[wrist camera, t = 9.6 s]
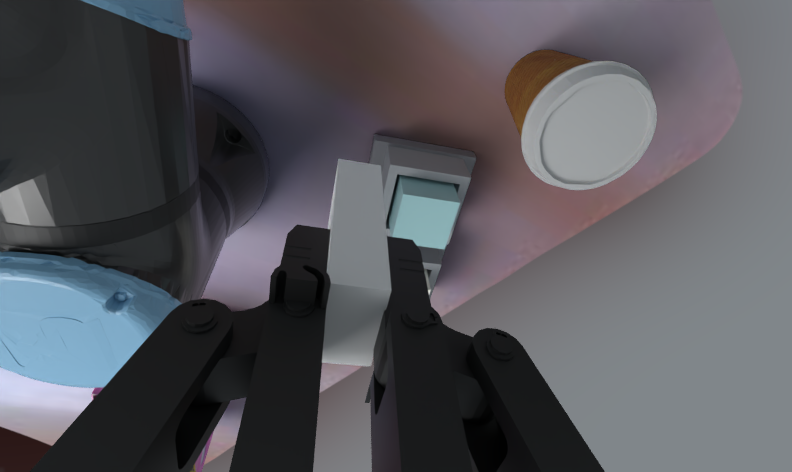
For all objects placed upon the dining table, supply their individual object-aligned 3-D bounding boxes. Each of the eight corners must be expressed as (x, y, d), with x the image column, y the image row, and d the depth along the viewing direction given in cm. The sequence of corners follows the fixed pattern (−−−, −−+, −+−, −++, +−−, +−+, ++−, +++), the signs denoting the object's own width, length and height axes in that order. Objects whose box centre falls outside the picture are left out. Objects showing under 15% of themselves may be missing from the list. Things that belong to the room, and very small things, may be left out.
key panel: (346, 277, 53) (345, 310, 48) (374, 134, 43) (376, 158, 38) (428, 286, 54) (434, 319, 50) (473, 151, 44) (486, 177, 40)
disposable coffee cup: (588, 14, 38) (668, 45, 28) (592, 118, 43) (660, 175, 33) (478, 49, 39) (518, 92, 29) (495, 146, 44) (534, 210, 34)
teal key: (388, 212, 44) (391, 242, 40) (398, 167, 41) (403, 194, 37) (436, 219, 45) (444, 249, 41) (450, 175, 42) (460, 203, 38)
